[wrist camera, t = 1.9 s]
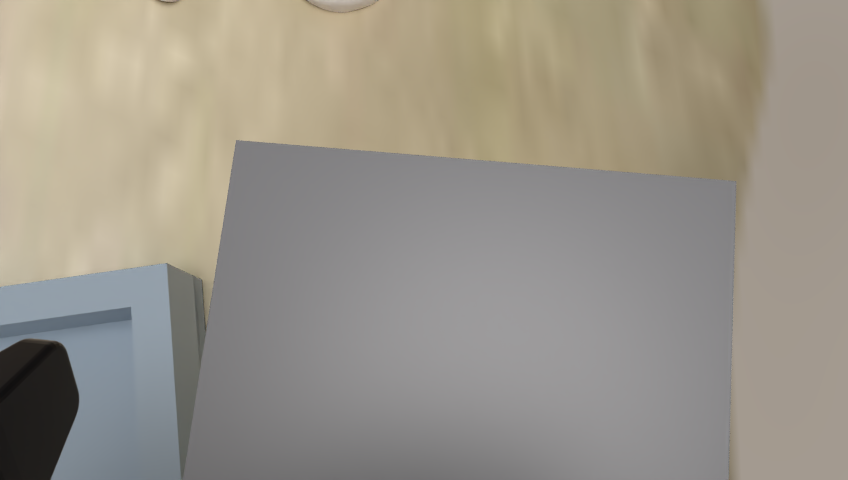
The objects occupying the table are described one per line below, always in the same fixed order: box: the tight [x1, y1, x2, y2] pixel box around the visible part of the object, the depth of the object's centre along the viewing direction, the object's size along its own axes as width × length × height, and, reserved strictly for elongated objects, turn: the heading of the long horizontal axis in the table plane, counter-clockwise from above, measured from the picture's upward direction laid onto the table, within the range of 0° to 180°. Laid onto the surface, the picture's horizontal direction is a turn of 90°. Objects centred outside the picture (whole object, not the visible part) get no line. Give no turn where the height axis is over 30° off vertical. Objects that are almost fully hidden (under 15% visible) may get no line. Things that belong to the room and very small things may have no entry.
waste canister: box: [183, 140, 736, 480], centre depth 13 cm, size 5×5×10 cm
